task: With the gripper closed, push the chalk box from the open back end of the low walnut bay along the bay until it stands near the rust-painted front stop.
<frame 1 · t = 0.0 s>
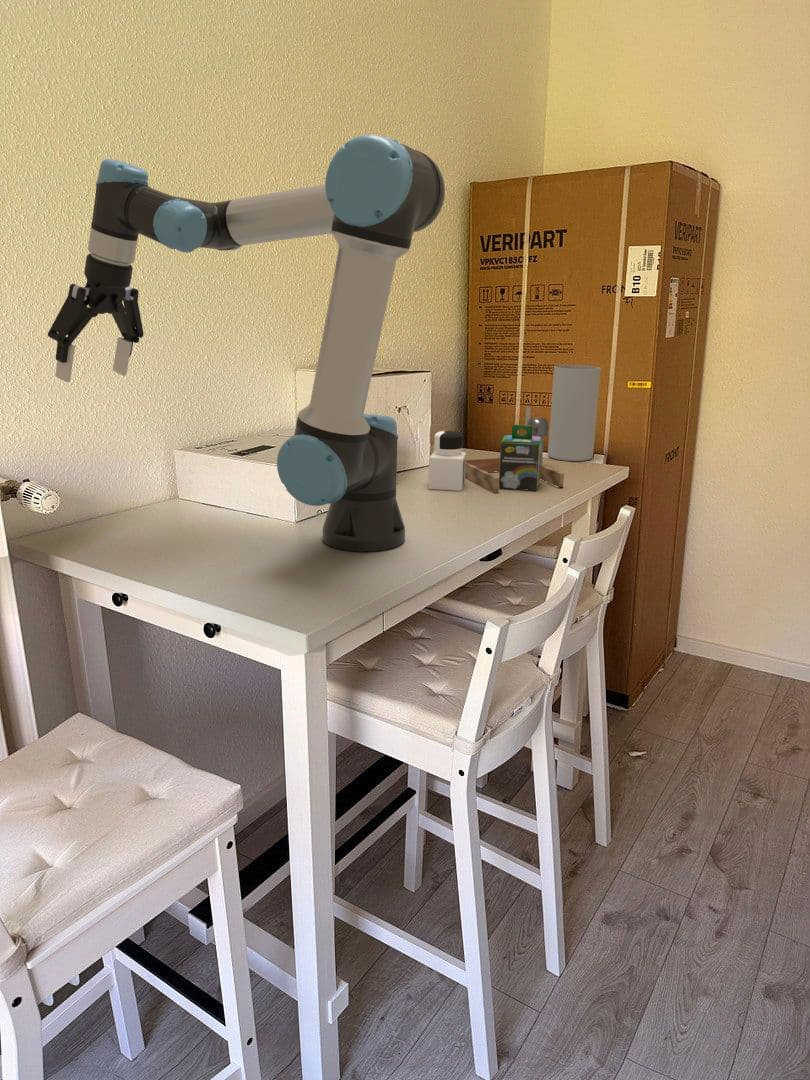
hand: (92, 376, 142), 28 cm above the table, tool tilted 20°, fingers open, 13 cm apart
chalk box: (519, 486, 186), on the table
bay: (509, 481, 190), on the table
cylinder vase: (569, 458, 220), on the table
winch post: (533, 467, 206), on the table
container: (446, 487, 184), on the table
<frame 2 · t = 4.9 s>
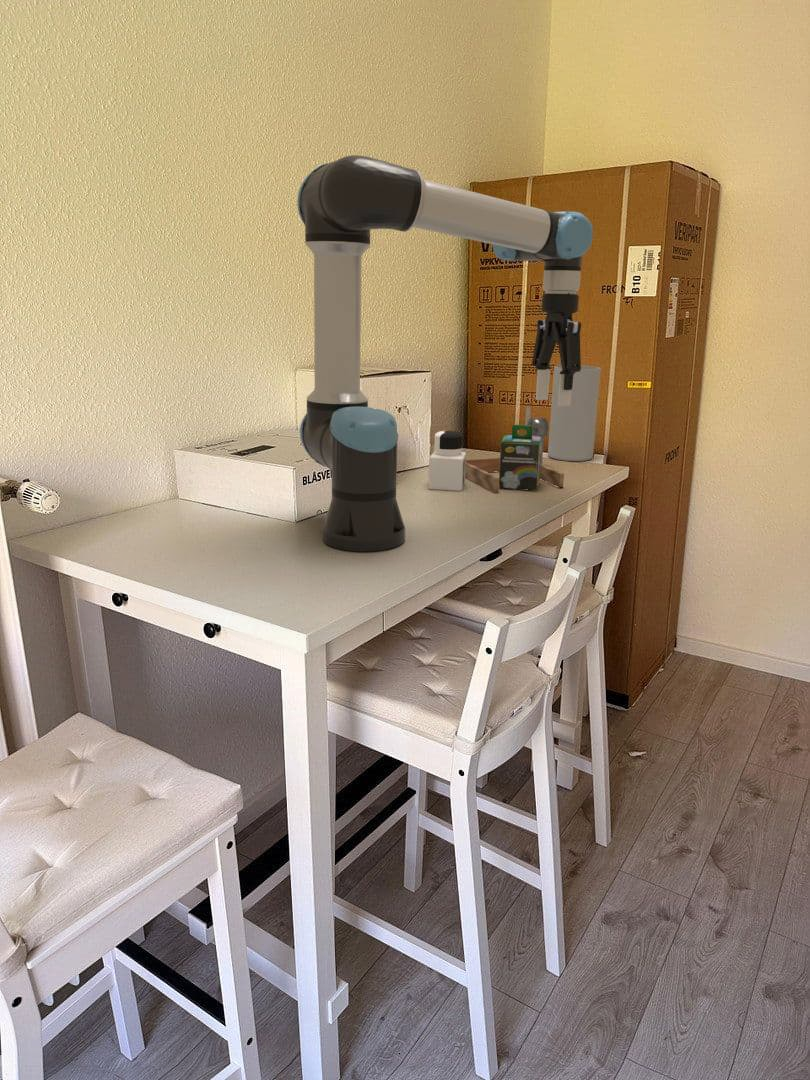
hand: (552, 402, 168), 21 cm above the table, tool pointing down, fingers open, 9 cm apart
nothing on the table moved.
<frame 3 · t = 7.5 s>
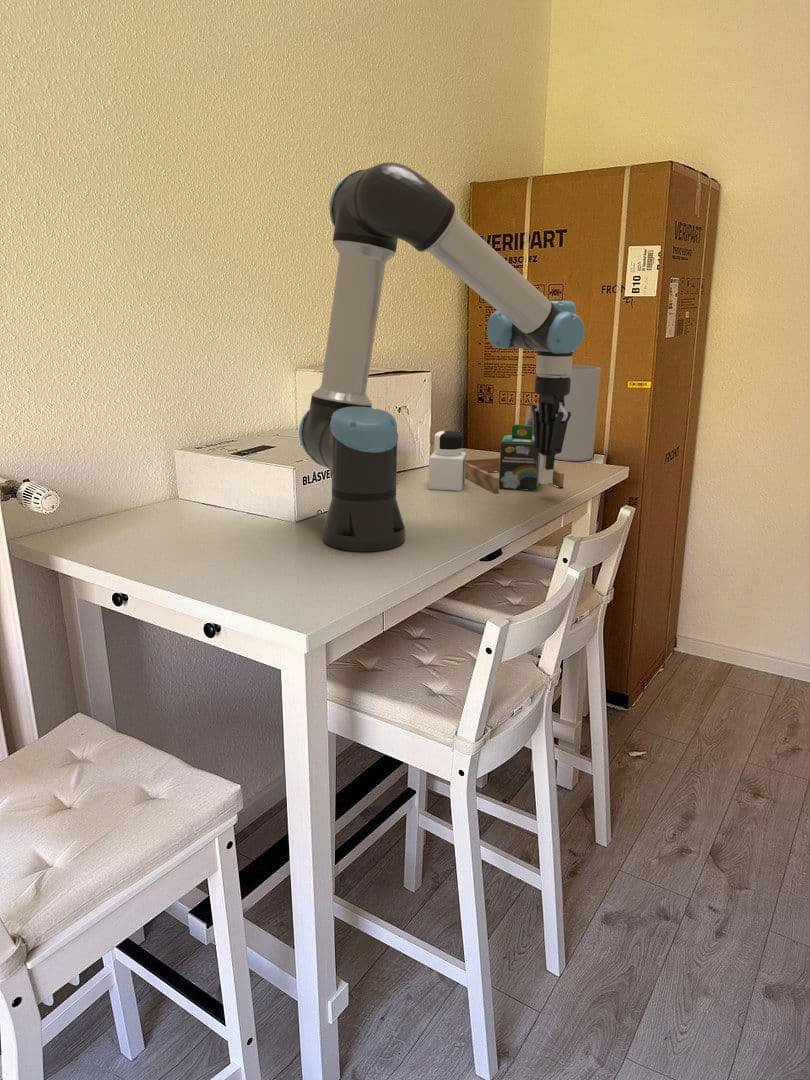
hand: (545, 482, 174), 3 cm above the table, tool pointing down, fingers closed
nothing on the table moved.
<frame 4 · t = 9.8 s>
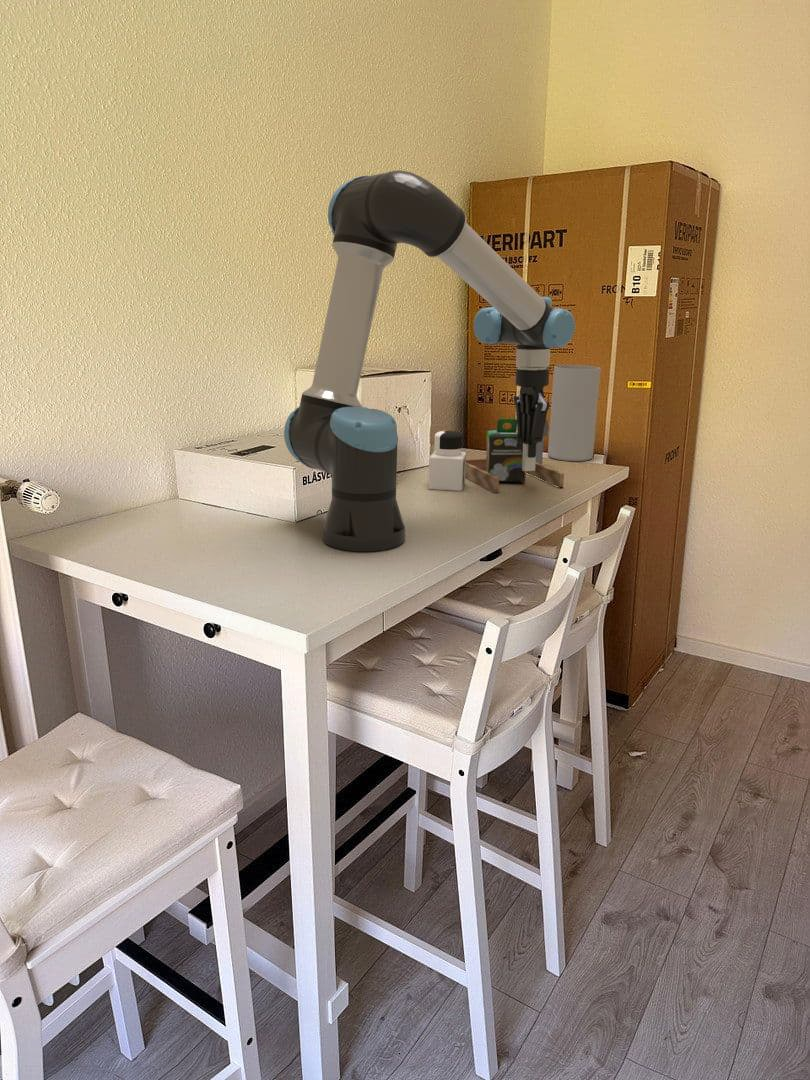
hand: (528, 470, 183), 4 cm above the table, tool pointing down, fingers closed
chalk box: (504, 479, 191), on the table, touching hand
everything else where it was.
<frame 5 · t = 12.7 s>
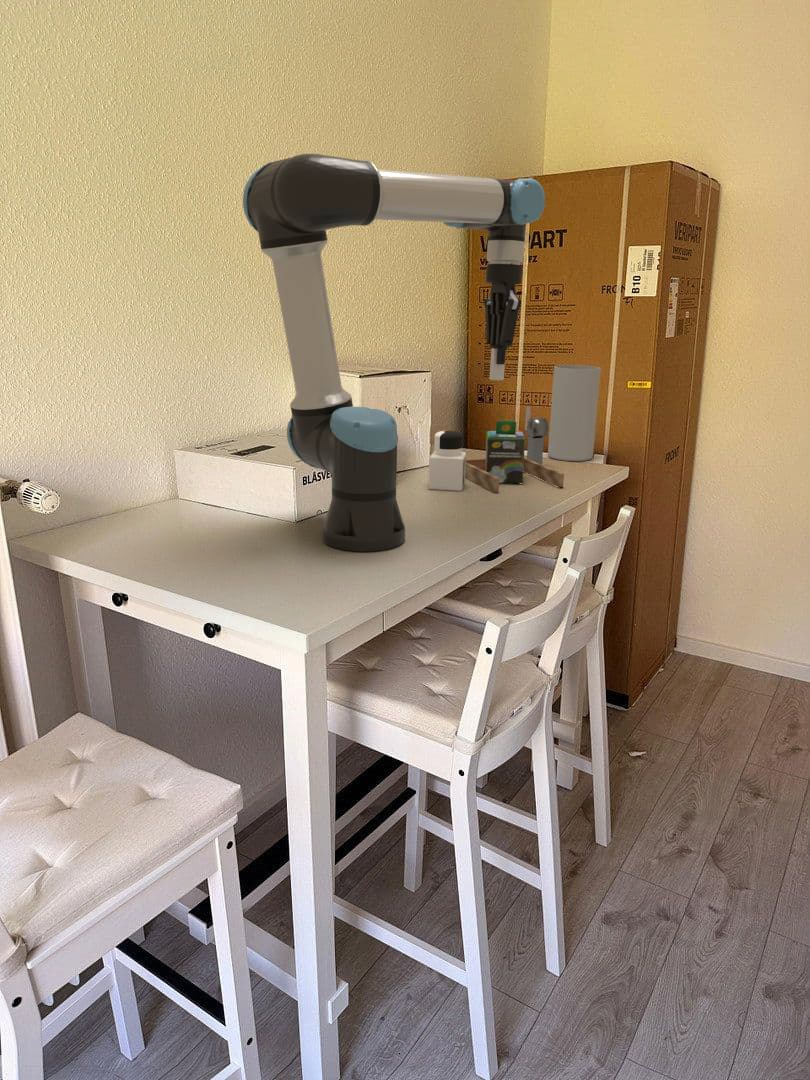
hand: (496, 379, 168), 26 cm above the table, tool pointing down, fingers closed
chalk box: (503, 480, 192), on the table
everything else where it was.
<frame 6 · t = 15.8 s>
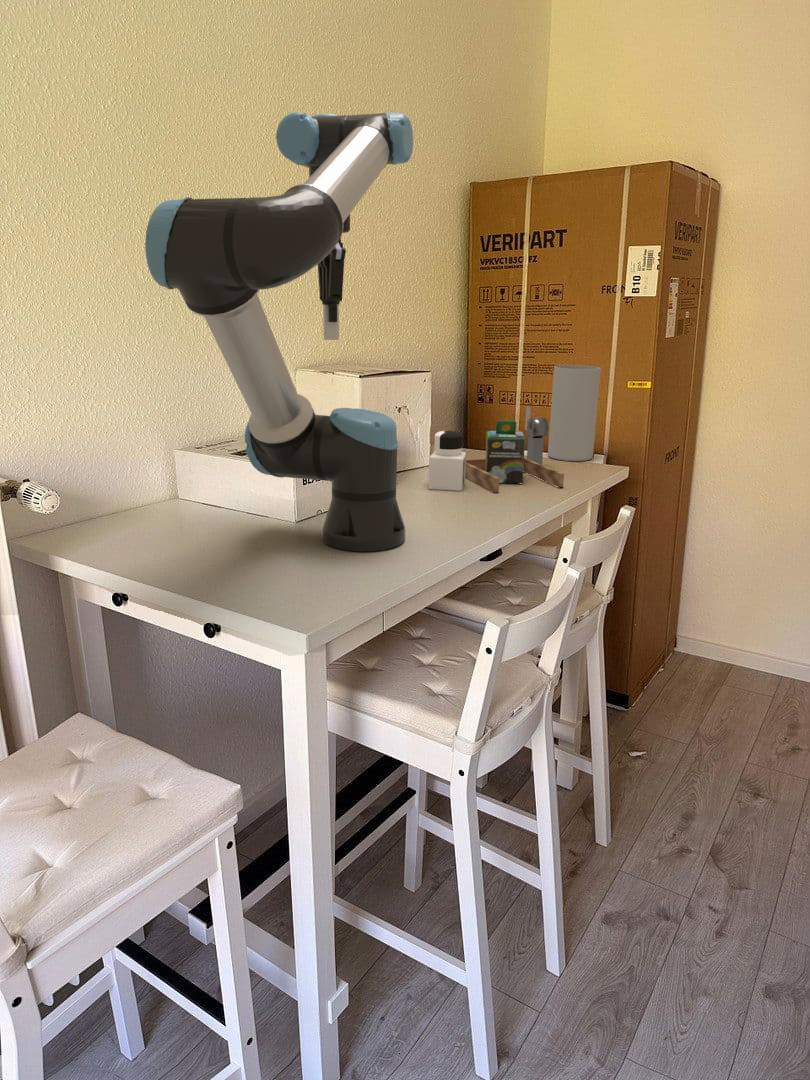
hand: (331, 339, 152), 34 cm above the table, tool pointing down, fingers closed
nothing on the table moved.
at the end: chalk box inside the target area on the bay (1.5 cm from its centre), point 0.0 cm above the bay's base; chalk box tilted 0° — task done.
